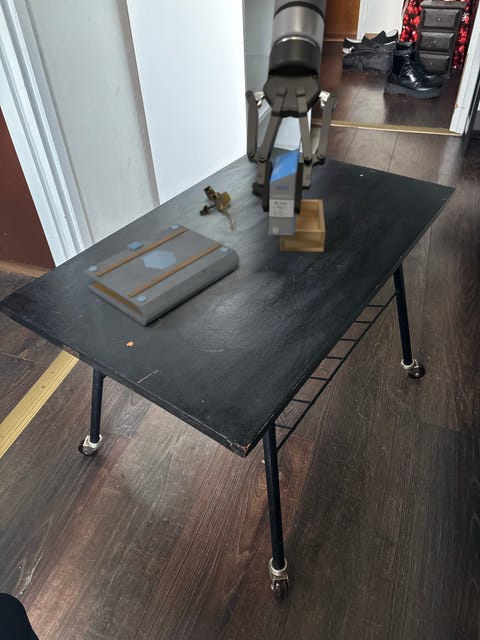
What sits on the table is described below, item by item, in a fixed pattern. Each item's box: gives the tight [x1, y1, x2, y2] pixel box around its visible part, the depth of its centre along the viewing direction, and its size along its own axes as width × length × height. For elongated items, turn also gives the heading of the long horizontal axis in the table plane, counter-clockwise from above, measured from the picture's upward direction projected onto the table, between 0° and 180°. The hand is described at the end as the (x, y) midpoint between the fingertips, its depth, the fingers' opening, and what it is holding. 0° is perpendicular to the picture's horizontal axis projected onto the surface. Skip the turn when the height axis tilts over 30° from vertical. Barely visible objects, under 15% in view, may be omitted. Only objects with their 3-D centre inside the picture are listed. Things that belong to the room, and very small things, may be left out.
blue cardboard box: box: [268, 134, 302, 237], centre depth 69 cm, size 9×4×12 cm, turn 172°
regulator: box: [199, 185, 234, 231], centre depth 101 cm, size 8×4×15 cm
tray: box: [279, 199, 326, 253], centre depth 93 cm, size 8×13×4 cm, turn 175°
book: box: [82, 223, 240, 327], centre depth 82 cm, size 21×16×5 cm
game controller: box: [251, 180, 263, 199], centre depth 109 cm, size 10×5×6 cm
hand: (281, 209), depth 67 cm, fingers closed on blue cardboard box, 4 cm apart
